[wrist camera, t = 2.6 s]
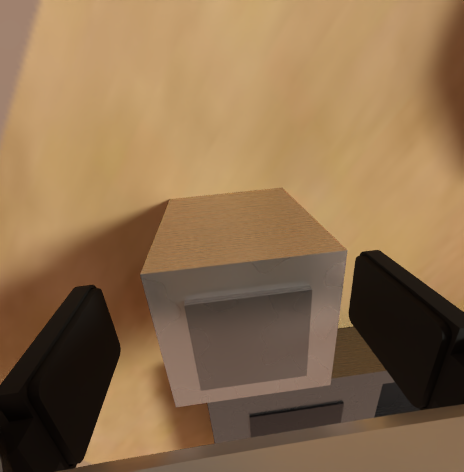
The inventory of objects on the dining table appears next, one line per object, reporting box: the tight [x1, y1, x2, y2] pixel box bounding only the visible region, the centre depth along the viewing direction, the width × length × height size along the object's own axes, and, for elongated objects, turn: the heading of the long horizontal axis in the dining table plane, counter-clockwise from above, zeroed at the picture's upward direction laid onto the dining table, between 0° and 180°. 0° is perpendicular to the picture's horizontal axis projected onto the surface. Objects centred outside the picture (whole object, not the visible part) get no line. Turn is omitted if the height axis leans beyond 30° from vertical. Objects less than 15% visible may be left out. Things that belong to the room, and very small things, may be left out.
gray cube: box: [140, 188, 347, 407], centre depth 10 cm, size 5×5×6 cm
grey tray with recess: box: [208, 327, 420, 444], centre depth 17 cm, size 9×22×3 cm, turn 95°
